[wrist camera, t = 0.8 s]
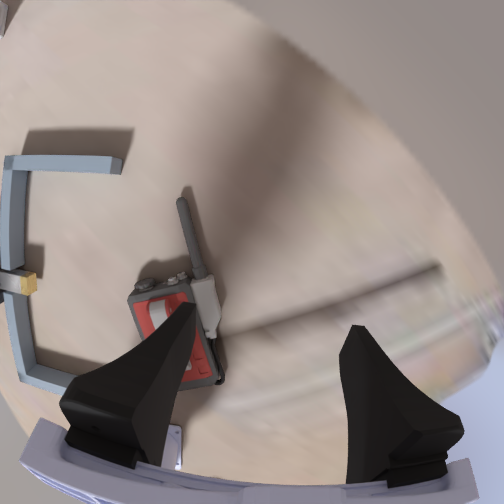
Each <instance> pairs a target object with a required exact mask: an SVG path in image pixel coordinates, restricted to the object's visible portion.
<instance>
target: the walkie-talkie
mask: <svg viewBox="0 0 504 504" xmlns="http://www.w3.org/2000/svg"><path fill="white" fill-rule="evenodd" d="M176 205H177V209H178V213H179V217H180V220H181V224H182V228H183V232H184V236H185V239H186V243H187V247H188V250H189V254H190V258H191V261H192V265H193V268H192V271H193V275H194V279H191V278H189V277H188V276H187V275H185V272H180V273H178V274H177V277H178V278H177V279H176V277H171V278H169V279H168V281H166V282H162V283H158V284H155V280H154V279H153V278H148V279H144V280H142V281H139V282H137V283H136V284H135V285H134V286H135V289H134V290H133V292H132V293H131V294H130V295H129V296H128V300H127V302H128V305H129V307H130V310H131V313H132V316H133V318H134V321H135V324H136V326H137V329H138V332H139V334H140V337H141V339H142V340H145V339H146V338H147V337H148V336H149V335H150V334H152V333H153V332H154V331H155V330H156V329H157V328H158V327H159V326H160V325H161V324H162V323H163V322H164V321H165V320H166V319H167V318H168V317H169V316H170V315H171V314H172V313H173V312H174V311H175V309H176V308H177V307H178V306H179V305H180V304H181V303H182V302H183V301H184V302H190V303H196V304H197V305H196V337H195V341H194V345H193V349H192V353H191V357H190V359H189V362H188V365H187V368H186V370H185V373H184V376H183V378H182V381H181V384H180V386H179V389H178V391H182V390H188V389H194V388H200V387H205V386H210V385H213V384H215V385H221V384H223V383H224V381H225V374H224V371H223V369H222V366H221V363H220V360H219V357H218V354H217V350H216V347H215V341H216V338H217V332H216V327H217V325H218V323H219V321H220V318H221V307H220V303H219V300H218V296H217V292H216V289H215V279H214V276H213V274H211V275H208V274H207V270H206V267H205V265H204V264H203V261H202V258H201V254H200V250H199V246H198V243H197V239H196V235H195V231H194V227H193V223H192V219H191V215H190V211H189V207H188V203H187V200H186V199H185V198H184V197H180V198H178V199H177V201H176ZM209 338H210V339H212V341H211V340H210V339H209ZM219 372H220V375H221V379H220V380H217V379H218V377H219Z"/></svg>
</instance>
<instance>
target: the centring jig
mask: <svg viewBox="0 0 504 504" xmlns="http://www.w3.org/2000/svg"><path fill="white" fill-rule="evenodd" d="M122 161H123V160H122V159H119V158H115V157H110V156H84V155H13V156H5V160H4V168H3V178H2V190H1V208H0V262H1V269H5V270H13V269H15V268H17V267H19V266H22V265H24V264H25V263H24V215H25V196H26V184H27V174H28V171H62V172H85V173H103V174H118V175H121V168H122ZM2 302H5V310H6V317H7V323H8V329H9V335H10V340H11V345H12V350H13V355H14V359H15V363H16V367H17V371H18V375H19V379H20V381H21V382H24V383H26V384H29V385H32V386H35V387H37V388H40V389H43V390H46V391H49V392H52V393H55V394H58V395H62V396H63V394H64V392H65V390H66V389H67V387H68V385H69V384H70V383H71V381H72V380H73V378H74V377H77V375H74V374H70V373H66V372H63V371H59V370H56V369H53V368H49V367H46V366H43V365H40V364H37V362H36V357H35V352H34V347H33V341H32V335H31V328H30V321H29V313H28V304H27V295H23V294H19V293H15V292H11V291H7V290H4V289H0V304H1V303H2Z"/></svg>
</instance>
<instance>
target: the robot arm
mask: <svg viewBox="0 0 504 504" xmlns="http://www.w3.org/2000/svg"><path fill="white" fill-rule="evenodd" d="M196 305H197V304H196V303H190V302H184V301H183V302H182V303H181V304H180V305H179V306H178V307H177V308H176V309H175V311H174V312H173V313H172V314H171V315H170V316H169V317H168V318H167V319H166V320H165V321H164V322H163V323H162V324H161V325H160V326H159V327H158V328H157V329H156V330H155V331H154V332H153V333H152V334H150V335H149V336H148V337H147V338H146V339H145V340H143V341H142V342H141V343H140V344H138V345H137V346H136V347H134V348H133V349H131V350H130V351H129V352H127V353H125V354H124V355H122V356H121V357H119V358H118V359H116V360H114V361H112V362H110V363H108V364H106V365H104V366H102V367H100V368H98V369H96V370H94V371H91V372H88V373H86V374H83V375H80V376H77V377H74V378H73V380H72V381H71V383H70V384H69V385H68V387H67V389H66V390H65V392H64V394H63V396H62V398H61V400H60V402H59V406H60V408H61V410H62V412H63V414H64V415H65V417H66V419H67V420H68V422H69V423H70V425H71V426H70V428H69V431H67V430H66V429H64V428H63V427H61V426H59V425H57V424H55V423H53V422H51V421H48V420H46V419H44V418H40V419H39V421H38V422H37V424H36V426H35V428H34V430H33V432H32V434H31V436H30V438H29V440H28V443H27V444H26V446H25V448H24V450H23V453H22V455H21V457H20V459H19V462H20V463H21V464H22V465H23V466H24V467H25V468H27V469H28V470H29V471H30V472H31V473H33V474H34V475H35V476H36V477H37V478H39V479H40V480H41V481H42V482H44V483H46V484H48V485H49V486H51V487H53V488H55V489H57V490H60V491H61V492H63V493H65V494H67V495H69V496H71V497H74V498H76V499H78V500H80V501H82V502H84V503H87V504H471V503H473V502H475V501H476V500H478V499H479V495H478V490H477V486H476V482H475V478H474V475H473V471H472V468H471V464H470V461H469V459H468V458H465V459H462V460H458V461H454V462H451V463H449V464H447V465H446V462H445V460H446V459H447V458H448V454H447V451H448V450H449V449H450V448H451V447H452V446H454V445H455V444H456V443H457V442H458V441H459V440H460V439H461V438H462V436H463V435H464V428H463V425H462V422H461V419H460V417H459V416H458V415H456V414H454V413H453V412H451V411H449V410H447V409H445V408H444V407H442V406H441V405H439V404H438V403H436V402H435V401H433V400H432V399H431V398H429V397H428V396H427V395H425V394H424V393H423V392H422V391H420V390H419V389H418V388H417V387H416V386H415V385H414V384H412V383H411V382H410V381H409V380H408V379H407V378H406V377H405V376H404V375H403V374H402V373H401V372H400V370H399V369H398V368H397V367H396V366H395V365H394V364H393V362H392V361H391V360H390V359H389V358H388V356H387V355H386V354H385V352H384V351H383V350H382V349H381V347H380V346H379V345H378V343H377V342H376V341H375V339H374V338H373V337H372V335H371V334H370V333H369V331H368V330H367V329H366V328H365V326H360V325H352V327H351V329H350V331H349V334H348V336H347V338H346V340H345V343H344V345H343V347H342V349H341V351H340V354H339V366H340V377H341V382H342V388H343V393H344V399H345V405H346V410H347V418H348V465H347V477H346V484H341V485H276V484H261V483H250V482H240V481H232V480H224V479H217V478H211V477H205V476H199V475H194V474H189V473H184V472H179V471H175V469H177V470H179V469H181V427H180V426H176V425H169V423H170V418H171V414H172V410H173V406H174V402H175V398H176V395H177V392H178V389H179V386H180V384H181V381H182V378H183V376H184V373H185V370H186V368H187V365H188V362H189V359H190V357H191V353H192V349H193V345H194V341H195V337H196ZM176 431H178V432H176Z"/></svg>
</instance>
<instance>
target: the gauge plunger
mask: <svg viewBox="0 0 504 504" xmlns="http://www.w3.org/2000/svg"><path fill="white" fill-rule="evenodd" d="M0 289H4V290H7V291H11V292H15V293H19V294H23V295H27V296H28V295H30V294H32V293H33V292H35V291H36V290H37V282H36V273H34V272H29V271H24V270H19V269H13V270H5V269H1V265H0Z"/></svg>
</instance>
